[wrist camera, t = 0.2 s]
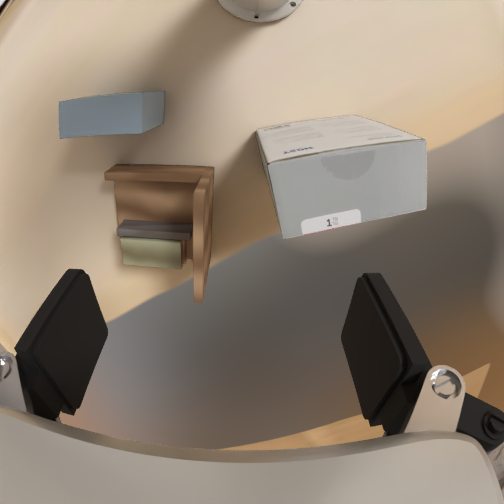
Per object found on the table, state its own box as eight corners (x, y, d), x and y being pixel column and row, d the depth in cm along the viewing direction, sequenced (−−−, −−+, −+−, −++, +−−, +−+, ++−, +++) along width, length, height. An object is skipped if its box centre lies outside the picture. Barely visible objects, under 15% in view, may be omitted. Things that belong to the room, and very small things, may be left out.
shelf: (115, 164, 42) (80, 190, 32) (214, 166, 43) (203, 194, 33) (124, 250, 50) (99, 291, 40) (210, 257, 51) (202, 302, 41)
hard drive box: (265, 177, 44) (278, 241, 27) (254, 129, 40) (261, 160, 23) (361, 159, 43) (427, 211, 26) (355, 112, 39) (427, 136, 22)
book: (93, 96, 36) (58, 101, 27) (165, 90, 37) (142, 91, 28) (93, 126, 39) (59, 139, 30) (163, 123, 39) (141, 133, 31)
